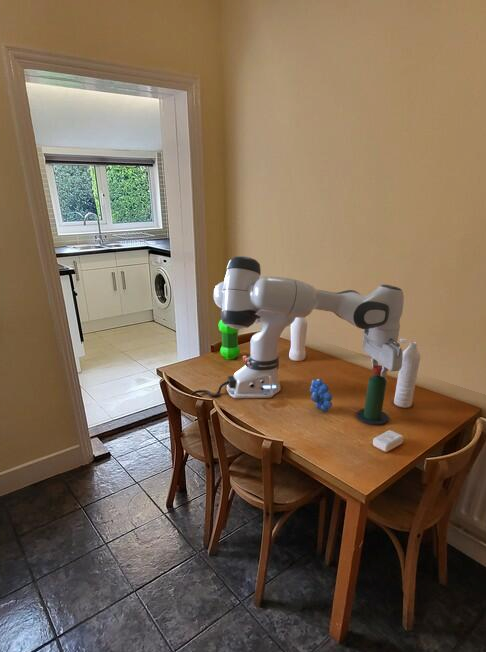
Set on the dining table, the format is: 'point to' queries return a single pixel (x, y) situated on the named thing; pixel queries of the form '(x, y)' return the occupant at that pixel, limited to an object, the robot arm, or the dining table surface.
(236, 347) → the plastic bottle
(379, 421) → the coaster
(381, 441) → the soap
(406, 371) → the water bottle
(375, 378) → the green bottle
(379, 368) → the cap
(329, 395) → the grapes
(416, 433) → the dining table surface
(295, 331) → the bottle
